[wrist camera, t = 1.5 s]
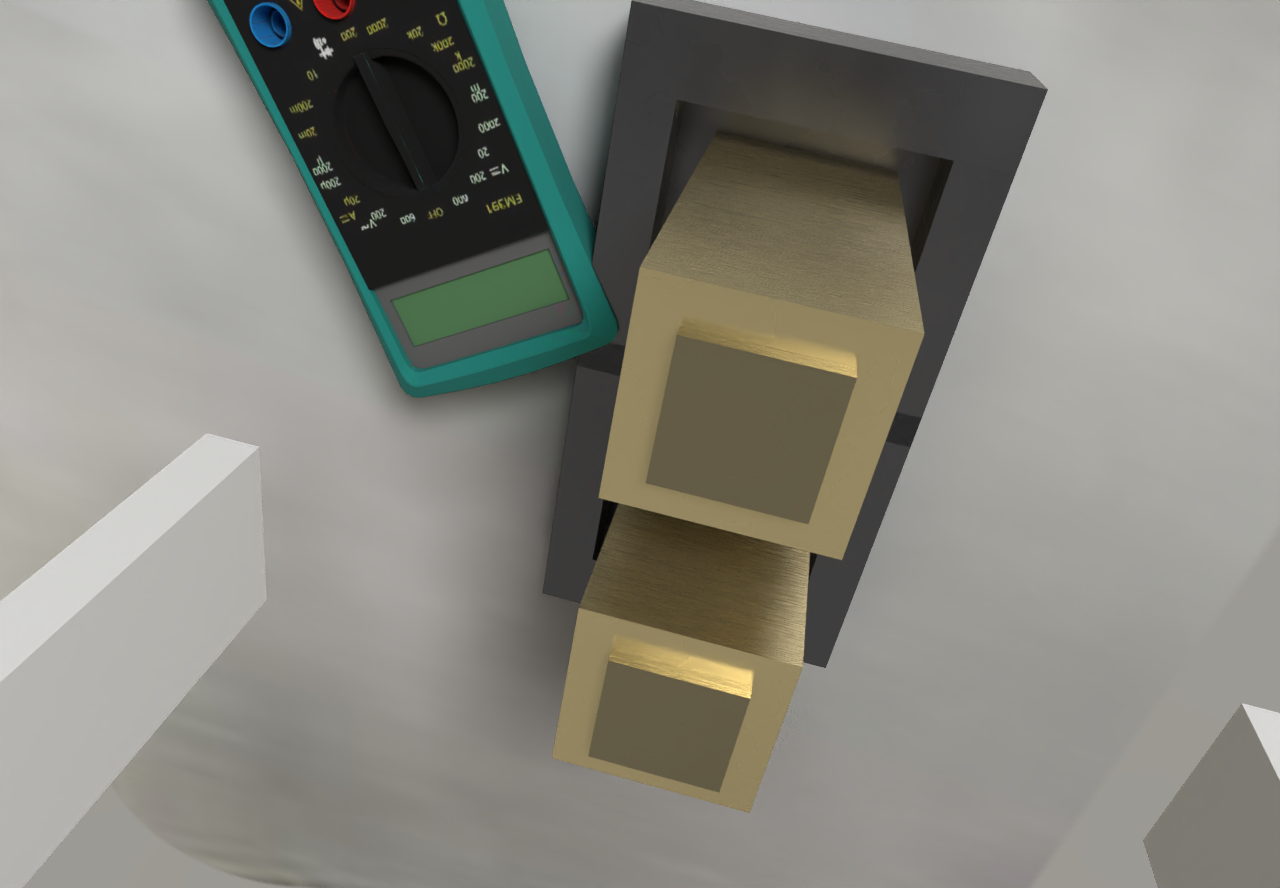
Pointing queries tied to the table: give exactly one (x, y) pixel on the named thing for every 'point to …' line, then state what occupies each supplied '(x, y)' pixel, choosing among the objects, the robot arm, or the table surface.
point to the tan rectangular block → (767, 347)
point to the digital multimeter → (432, 180)
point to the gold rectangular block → (684, 657)
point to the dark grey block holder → (814, 122)
